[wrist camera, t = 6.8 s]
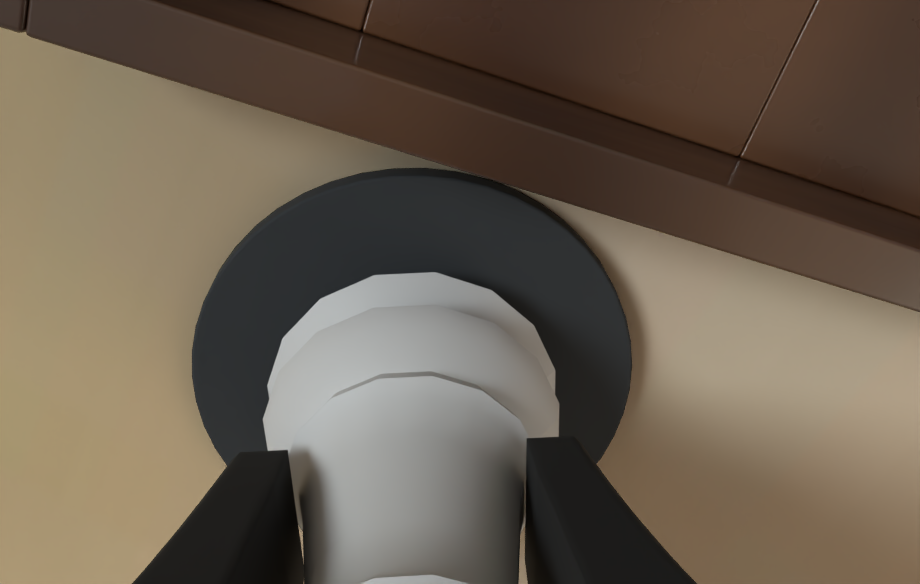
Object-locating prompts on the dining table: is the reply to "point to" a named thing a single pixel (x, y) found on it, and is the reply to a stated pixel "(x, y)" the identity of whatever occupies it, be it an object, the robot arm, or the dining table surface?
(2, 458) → the dining table surface
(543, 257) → the coaster
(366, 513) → the rook chess piece
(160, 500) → the dining table surface
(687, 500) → the dining table surface
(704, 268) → the dining table surface
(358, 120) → the tray
